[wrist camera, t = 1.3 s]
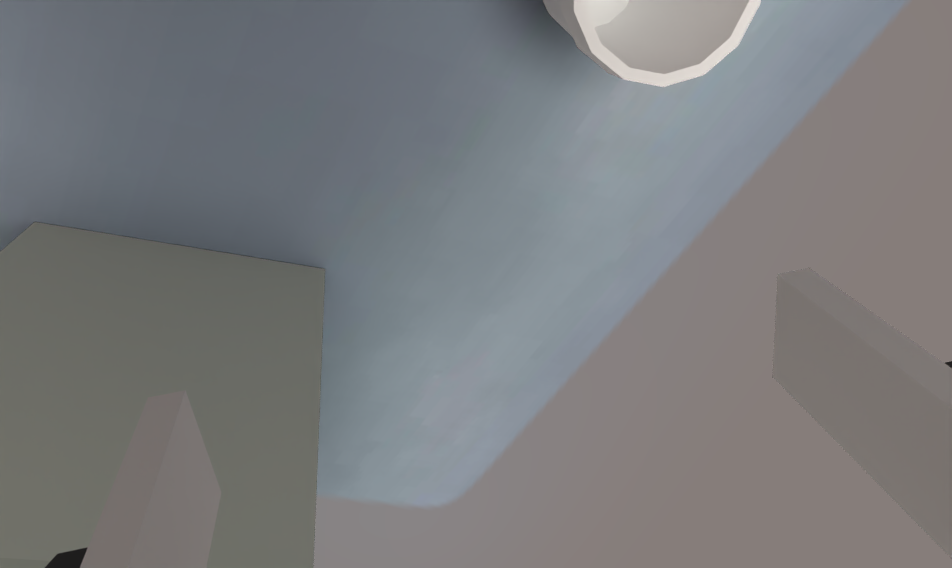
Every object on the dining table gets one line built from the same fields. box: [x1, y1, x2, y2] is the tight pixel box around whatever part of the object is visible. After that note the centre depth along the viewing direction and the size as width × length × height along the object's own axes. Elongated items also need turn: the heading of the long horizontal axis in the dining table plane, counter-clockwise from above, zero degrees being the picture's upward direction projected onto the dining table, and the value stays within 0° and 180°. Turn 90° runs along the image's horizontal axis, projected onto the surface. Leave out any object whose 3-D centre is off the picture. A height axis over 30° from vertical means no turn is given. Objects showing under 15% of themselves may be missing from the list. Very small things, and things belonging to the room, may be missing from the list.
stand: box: [0, 222, 325, 568], centre depth 38 cm, size 18×14×30 cm
